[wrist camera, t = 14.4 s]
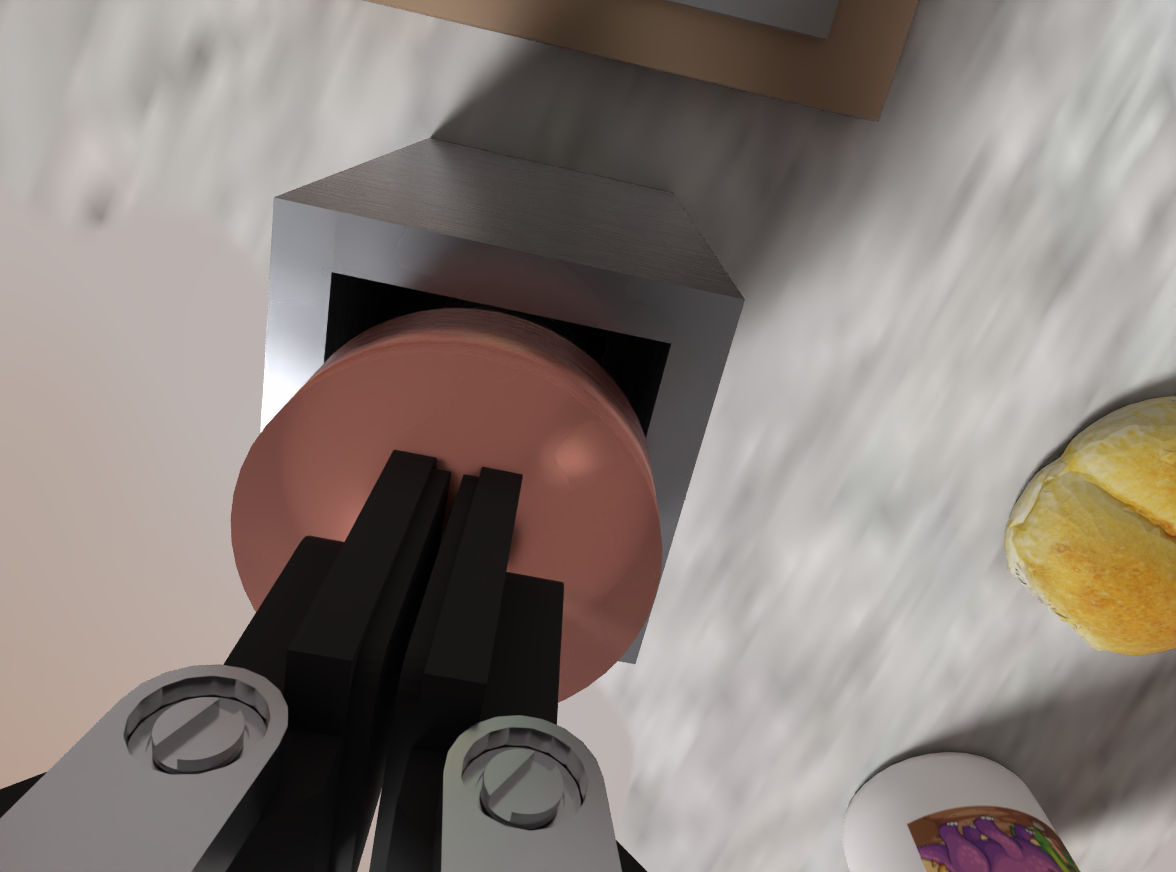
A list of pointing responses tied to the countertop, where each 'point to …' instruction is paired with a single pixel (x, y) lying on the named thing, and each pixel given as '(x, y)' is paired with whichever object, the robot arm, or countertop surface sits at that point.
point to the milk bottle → (950, 820)
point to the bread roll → (1106, 531)
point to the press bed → (719, 40)
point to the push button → (472, 460)
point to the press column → (509, 280)
